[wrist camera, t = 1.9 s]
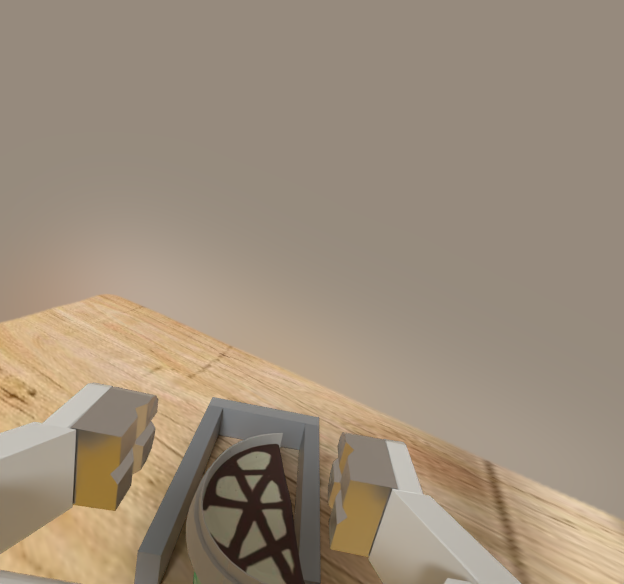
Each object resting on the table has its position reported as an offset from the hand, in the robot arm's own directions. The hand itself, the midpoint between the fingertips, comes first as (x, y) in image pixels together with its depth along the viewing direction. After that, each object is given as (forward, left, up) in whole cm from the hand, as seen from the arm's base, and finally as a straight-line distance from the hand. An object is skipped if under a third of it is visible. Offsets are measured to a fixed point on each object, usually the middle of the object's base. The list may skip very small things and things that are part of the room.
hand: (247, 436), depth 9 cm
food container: (0, -10, -22) cm, 24 cm away
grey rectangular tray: (0, -19, -22) cm, 29 cm away
